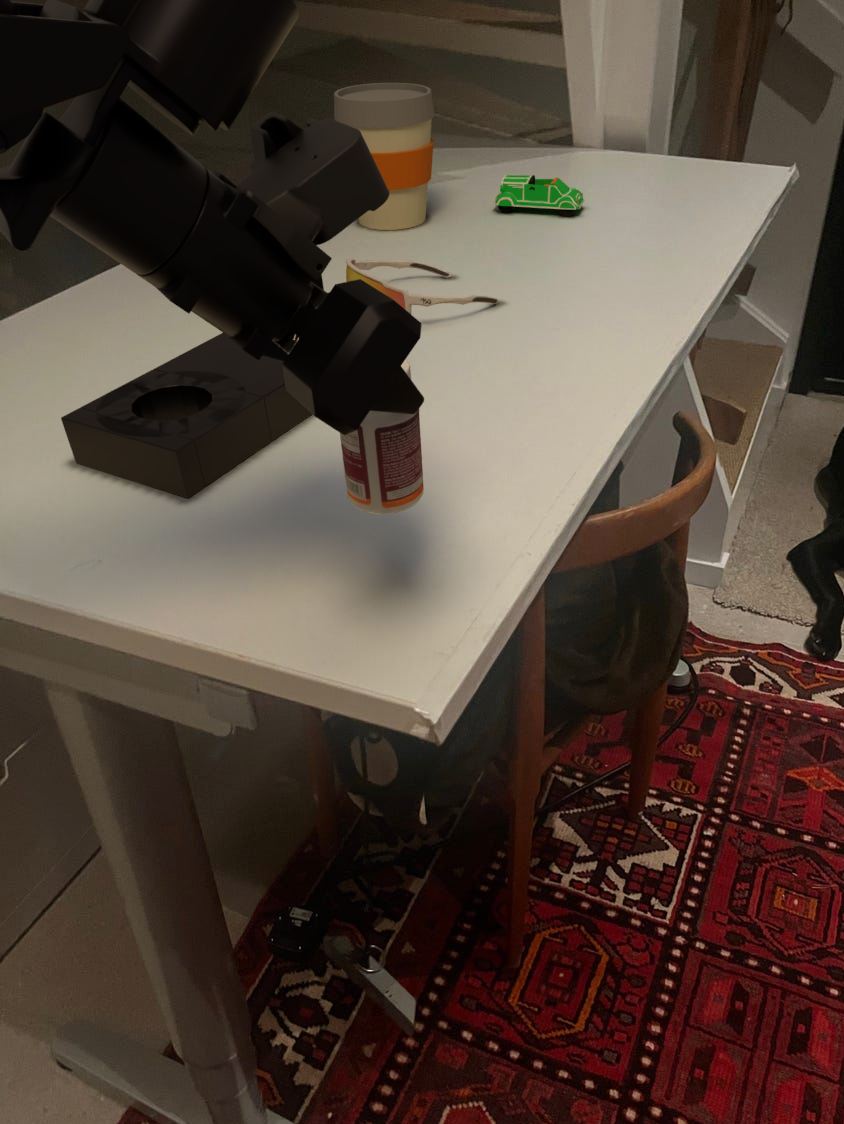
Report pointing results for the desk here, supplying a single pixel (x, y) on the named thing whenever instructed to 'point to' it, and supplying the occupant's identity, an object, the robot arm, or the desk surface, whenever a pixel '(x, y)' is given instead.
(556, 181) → the toy car
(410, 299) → the sunglasses
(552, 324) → the desk surface
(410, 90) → the reusable coffee cup
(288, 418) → the base
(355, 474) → the pill bottle
